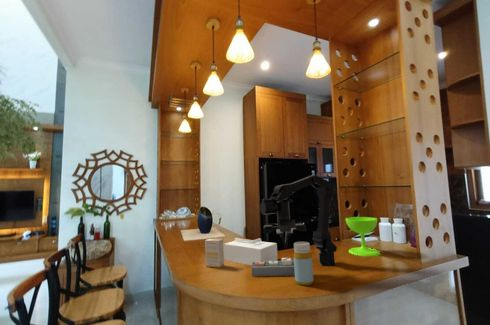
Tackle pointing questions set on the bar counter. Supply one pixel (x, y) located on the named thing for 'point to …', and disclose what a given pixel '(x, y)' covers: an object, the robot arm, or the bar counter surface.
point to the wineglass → (362, 234)
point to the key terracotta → (259, 263)
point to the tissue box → (250, 251)
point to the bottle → (303, 263)
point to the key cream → (286, 261)
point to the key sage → (273, 263)
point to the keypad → (273, 269)
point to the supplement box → (214, 253)
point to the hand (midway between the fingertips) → (285, 247)
